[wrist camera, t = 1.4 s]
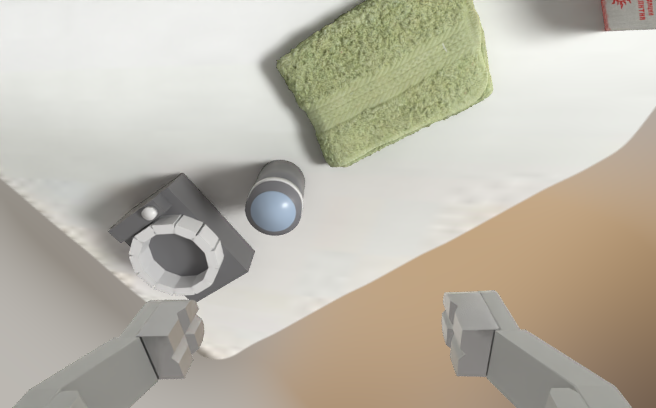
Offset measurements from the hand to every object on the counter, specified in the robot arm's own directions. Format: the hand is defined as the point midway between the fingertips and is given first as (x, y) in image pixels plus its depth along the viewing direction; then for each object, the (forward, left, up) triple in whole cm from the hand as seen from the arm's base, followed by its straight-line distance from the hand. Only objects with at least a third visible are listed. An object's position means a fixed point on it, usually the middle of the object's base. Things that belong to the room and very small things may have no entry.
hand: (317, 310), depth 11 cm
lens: (-3, -6, -25) cm, 26 cm away
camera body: (-12, -14, -25) cm, 32 cm away
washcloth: (+5, +6, -26) cm, 27 cm away
